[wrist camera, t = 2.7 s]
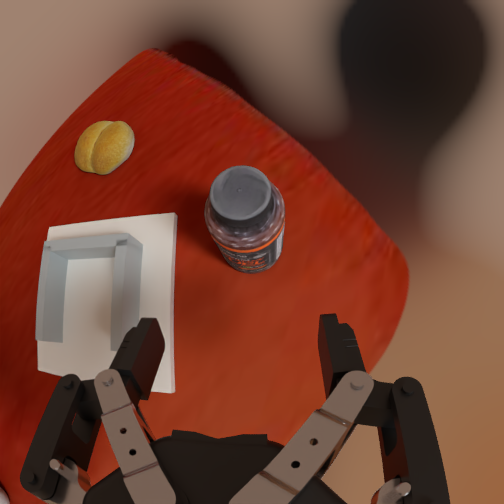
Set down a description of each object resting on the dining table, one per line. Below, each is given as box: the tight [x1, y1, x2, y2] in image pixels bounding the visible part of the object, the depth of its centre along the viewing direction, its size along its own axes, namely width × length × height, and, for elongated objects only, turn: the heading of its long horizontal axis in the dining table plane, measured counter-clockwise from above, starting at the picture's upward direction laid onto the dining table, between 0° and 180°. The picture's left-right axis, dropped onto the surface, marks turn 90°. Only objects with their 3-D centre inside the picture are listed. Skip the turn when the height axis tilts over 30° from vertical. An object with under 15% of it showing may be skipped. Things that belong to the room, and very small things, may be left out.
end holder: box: [36, 213, 178, 393], centre depth 27 cm, size 18×18×4 cm
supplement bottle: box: [204, 165, 285, 274], centre depth 24 cm, size 6×6×11 cm
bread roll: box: [75, 121, 134, 175], centre depth 33 cm, size 8×9×4 cm
